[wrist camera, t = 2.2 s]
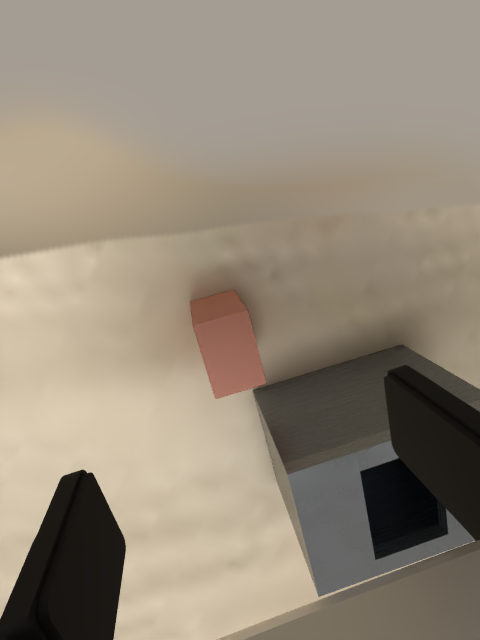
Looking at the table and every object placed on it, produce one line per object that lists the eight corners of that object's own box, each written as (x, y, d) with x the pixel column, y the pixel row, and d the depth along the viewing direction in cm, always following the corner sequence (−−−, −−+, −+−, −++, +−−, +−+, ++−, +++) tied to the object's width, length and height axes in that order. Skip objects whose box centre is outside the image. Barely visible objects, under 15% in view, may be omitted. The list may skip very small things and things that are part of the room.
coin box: (402, 344, 27) (503, 403, 19) (412, 440, 30) (505, 529, 21) (252, 390, 26) (287, 474, 18) (278, 484, 29) (318, 596, 20)
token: (233, 289, 24) (247, 309, 19) (248, 349, 25) (266, 383, 20) (190, 301, 24) (192, 325, 18) (208, 361, 25) (215, 399, 20)
